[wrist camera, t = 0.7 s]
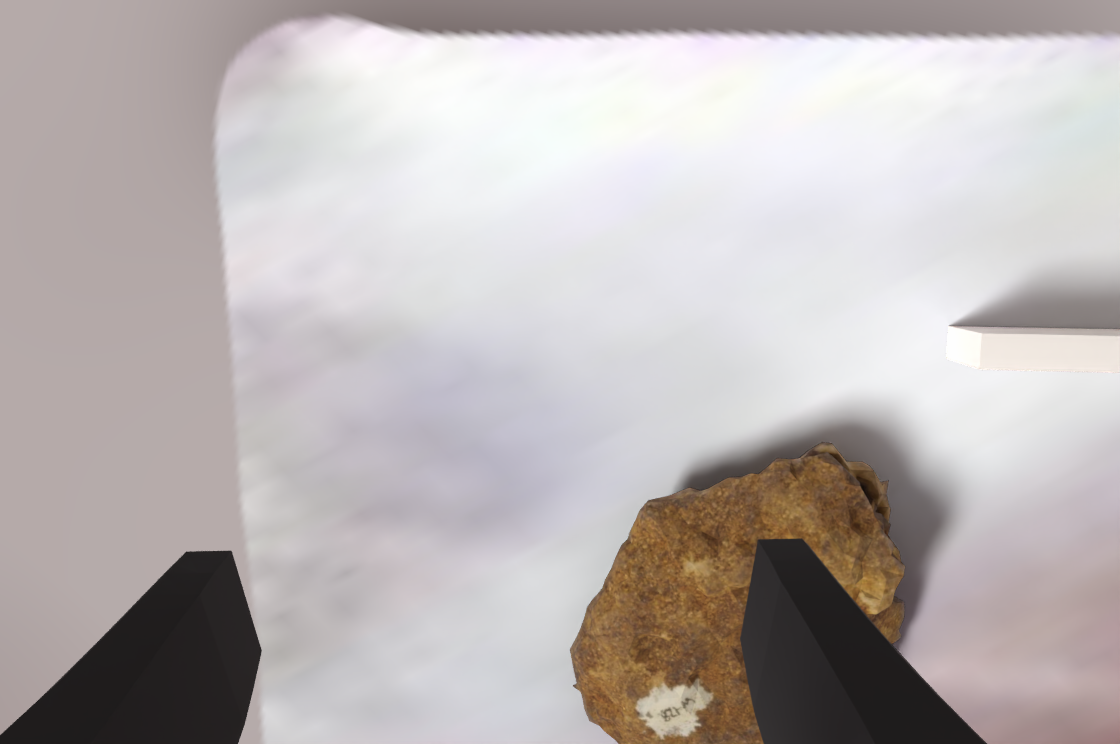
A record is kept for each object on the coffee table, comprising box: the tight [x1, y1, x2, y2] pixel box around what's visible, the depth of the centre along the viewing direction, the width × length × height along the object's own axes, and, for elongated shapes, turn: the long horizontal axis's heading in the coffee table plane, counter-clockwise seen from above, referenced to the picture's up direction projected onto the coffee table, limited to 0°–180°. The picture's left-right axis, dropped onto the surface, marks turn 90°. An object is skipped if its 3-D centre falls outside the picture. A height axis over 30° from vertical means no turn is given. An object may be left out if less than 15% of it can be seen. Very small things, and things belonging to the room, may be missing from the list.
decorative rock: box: [570, 442, 905, 744], centre depth 30 cm, size 11×4×15 cm
